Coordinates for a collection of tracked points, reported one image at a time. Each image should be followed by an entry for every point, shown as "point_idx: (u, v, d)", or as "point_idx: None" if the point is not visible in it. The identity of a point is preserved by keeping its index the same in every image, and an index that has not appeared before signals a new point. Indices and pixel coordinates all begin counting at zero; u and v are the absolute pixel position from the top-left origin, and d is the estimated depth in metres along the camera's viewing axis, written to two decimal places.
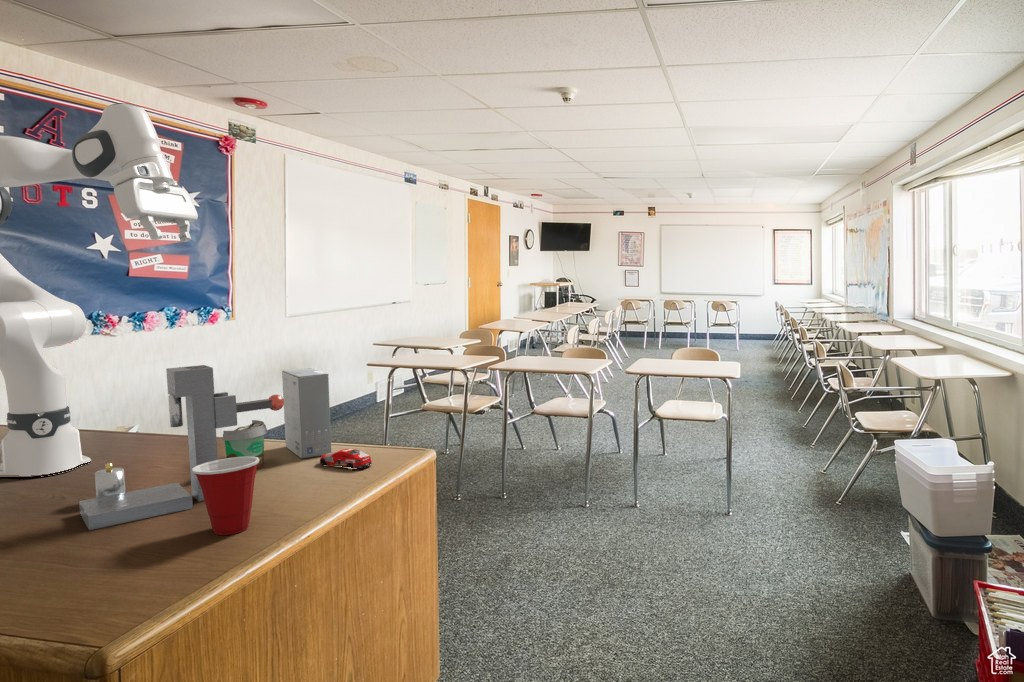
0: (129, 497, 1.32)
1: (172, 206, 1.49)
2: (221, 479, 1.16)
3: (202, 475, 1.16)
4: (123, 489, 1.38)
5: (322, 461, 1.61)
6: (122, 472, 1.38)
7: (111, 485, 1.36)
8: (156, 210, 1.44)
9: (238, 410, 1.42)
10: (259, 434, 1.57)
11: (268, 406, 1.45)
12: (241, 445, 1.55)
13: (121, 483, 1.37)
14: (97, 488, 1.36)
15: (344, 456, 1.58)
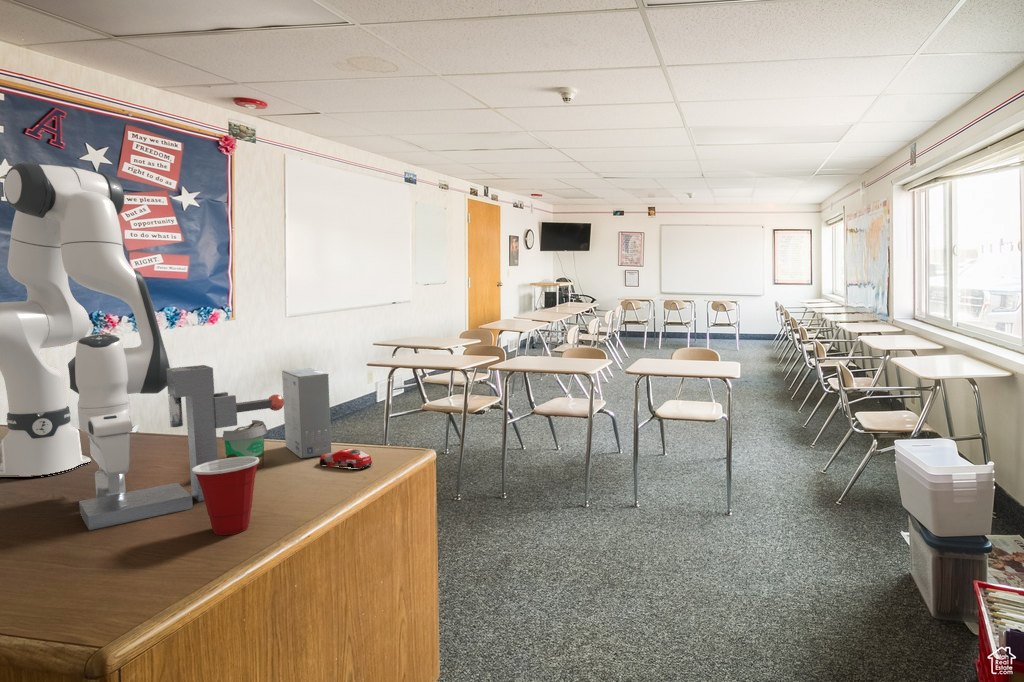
0: (129, 497, 1.32)
1: None
2: (221, 479, 1.16)
3: (202, 475, 1.16)
4: (123, 489, 1.38)
5: (322, 461, 1.60)
6: None
7: None
8: None
9: (238, 410, 1.42)
10: (259, 434, 1.57)
11: (268, 406, 1.45)
12: (241, 445, 1.55)
13: (121, 482, 1.37)
14: (97, 488, 1.36)
15: (344, 456, 1.58)
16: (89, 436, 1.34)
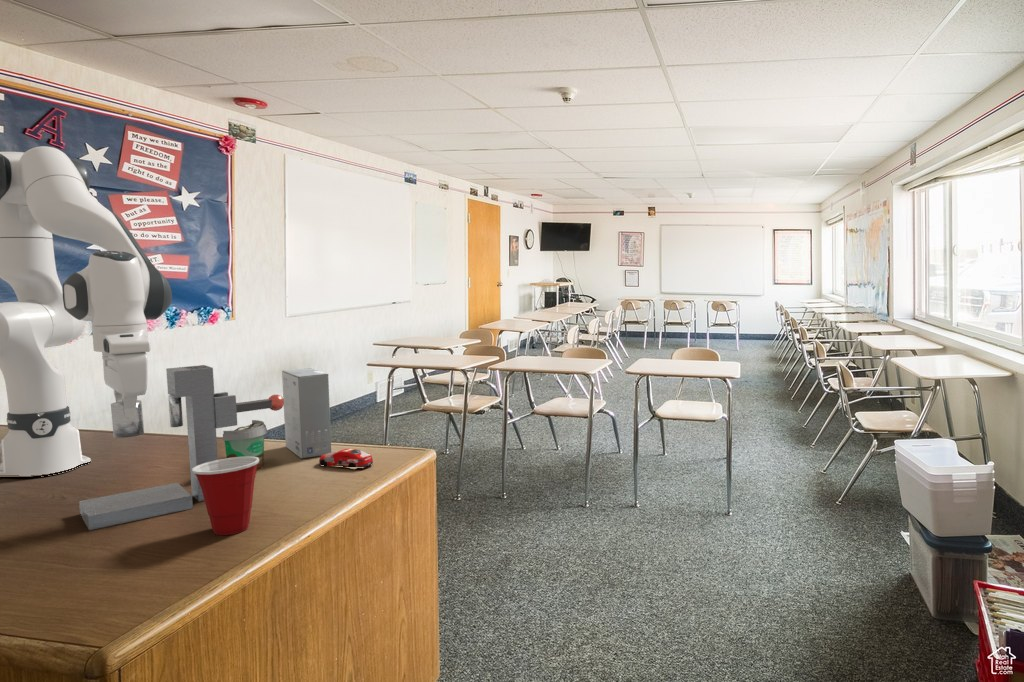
0: (129, 497, 1.32)
1: None
2: (221, 479, 1.16)
3: (202, 475, 1.16)
4: (141, 422, 1.30)
5: (322, 462, 1.60)
6: (140, 404, 1.30)
7: None
8: None
9: (238, 410, 1.42)
10: (259, 434, 1.57)
11: (268, 406, 1.45)
12: (241, 446, 1.55)
13: (139, 415, 1.29)
14: (114, 420, 1.28)
15: (345, 456, 1.58)
16: (104, 357, 1.26)
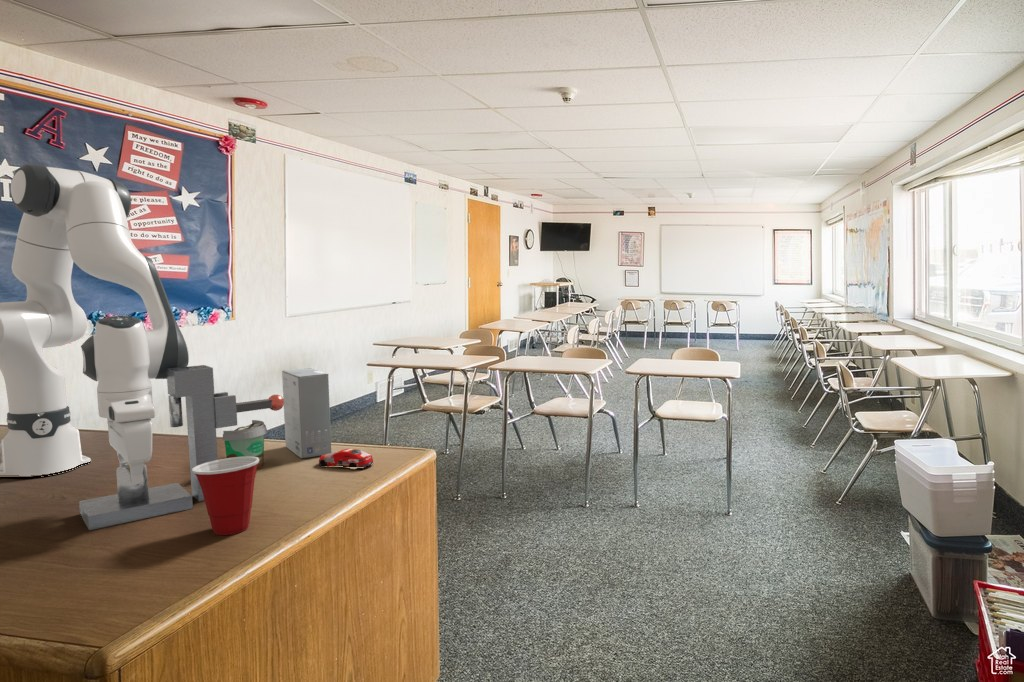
0: None
1: None
2: (221, 479, 1.16)
3: (202, 475, 1.16)
4: (146, 486, 1.31)
5: (321, 462, 1.60)
6: (145, 468, 1.31)
7: None
8: None
9: (238, 410, 1.42)
10: (259, 434, 1.57)
11: (268, 406, 1.45)
12: (241, 446, 1.55)
13: (144, 479, 1.31)
14: (119, 485, 1.29)
15: (346, 456, 1.58)
16: (109, 422, 1.27)
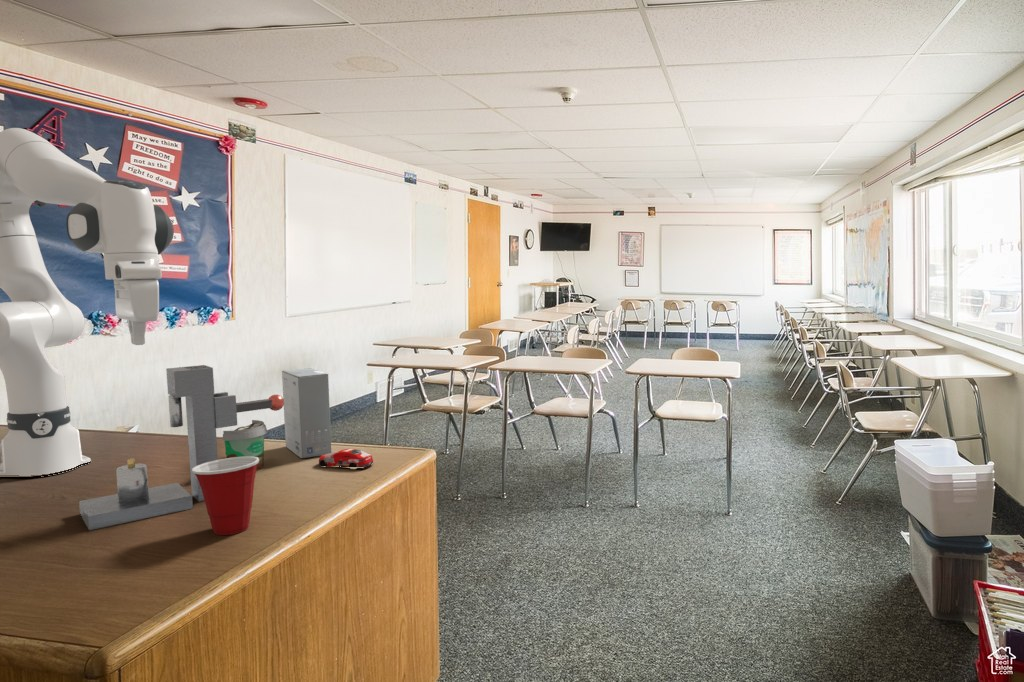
0: None
1: None
2: (221, 479, 1.16)
3: (202, 475, 1.16)
4: (146, 486, 1.31)
5: (321, 462, 1.60)
6: (145, 468, 1.31)
7: (133, 482, 1.29)
8: None
9: (238, 410, 1.42)
10: (259, 434, 1.57)
11: (268, 406, 1.45)
12: (241, 446, 1.55)
13: (144, 479, 1.31)
14: (119, 485, 1.29)
15: (346, 456, 1.58)
16: (116, 286, 1.26)
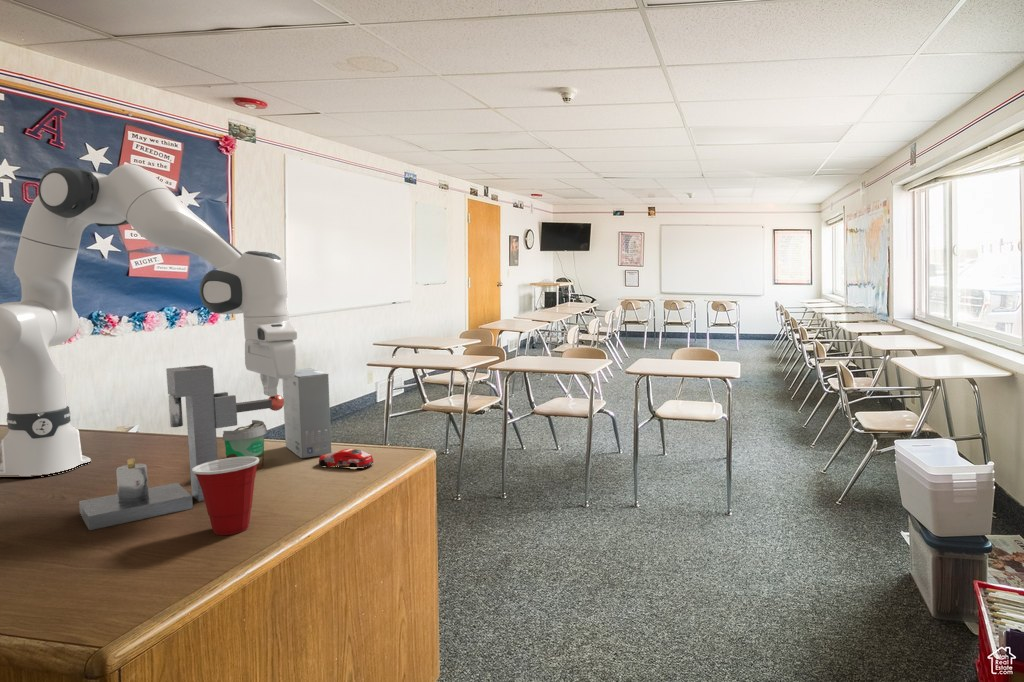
0: None
1: None
2: (221, 479, 1.16)
3: (202, 475, 1.16)
4: (146, 486, 1.31)
5: (321, 462, 1.60)
6: (145, 468, 1.31)
7: (133, 482, 1.29)
8: None
9: (238, 410, 1.42)
10: (259, 434, 1.57)
11: (268, 406, 1.45)
12: (241, 446, 1.55)
13: (144, 479, 1.31)
14: (119, 485, 1.29)
15: (346, 456, 1.58)
16: (254, 345, 1.43)
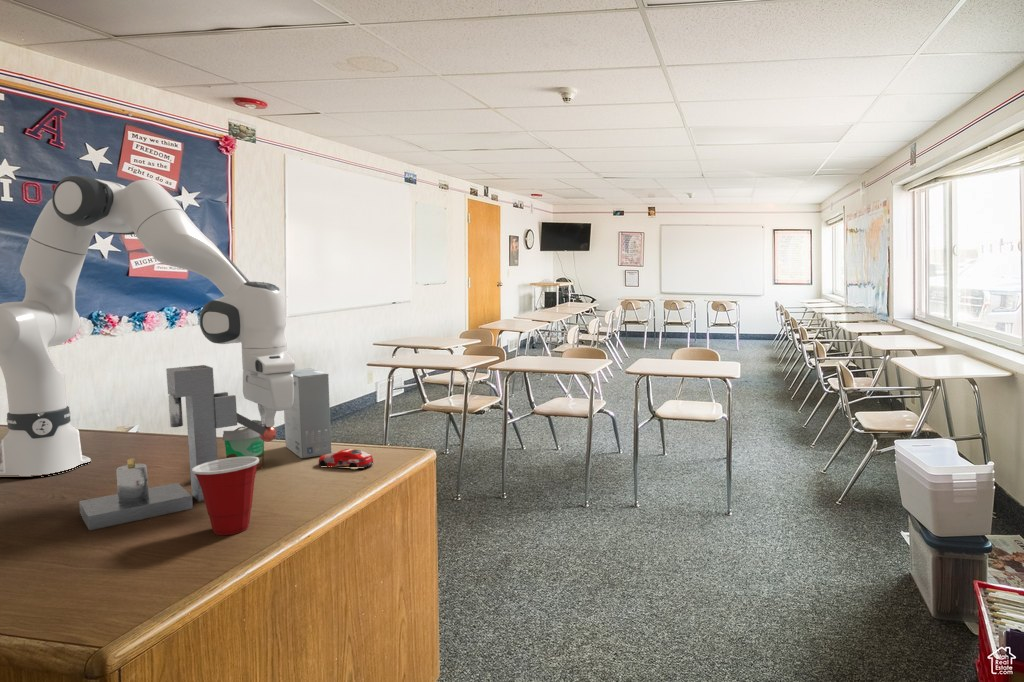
0: None
1: None
2: (221, 479, 1.16)
3: (202, 475, 1.16)
4: (146, 486, 1.31)
5: (321, 462, 1.59)
6: (145, 468, 1.31)
7: (133, 482, 1.29)
8: None
9: None
10: None
11: (260, 432, 1.45)
12: (241, 445, 1.55)
13: (144, 479, 1.31)
14: (119, 485, 1.29)
15: (346, 457, 1.58)
16: (252, 375, 1.43)
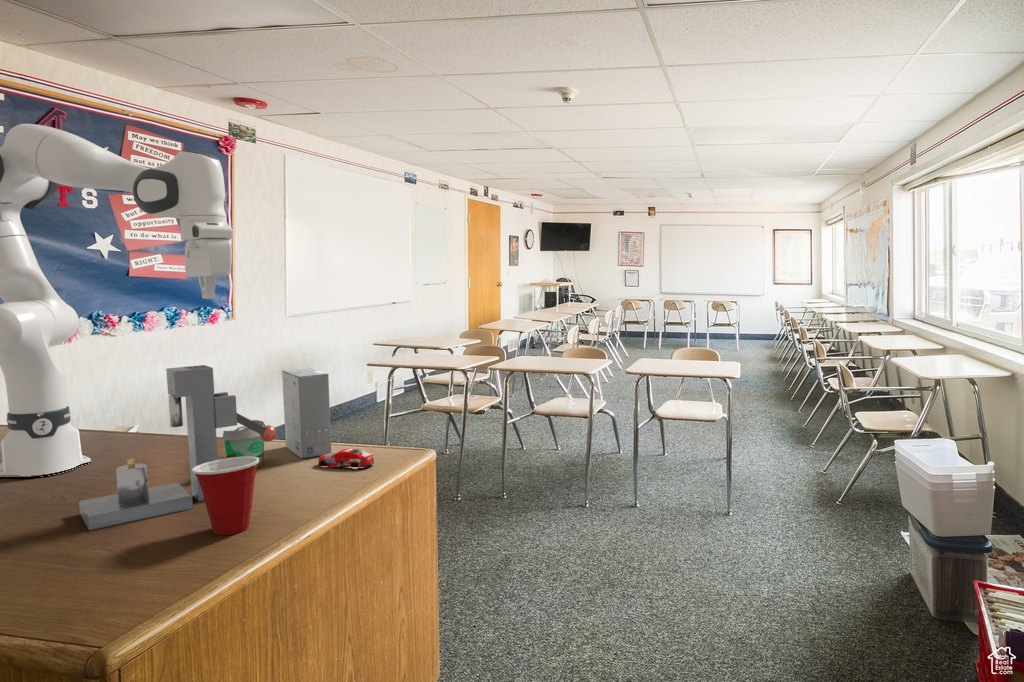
0: None
1: None
2: (221, 479, 1.16)
3: (202, 475, 1.16)
4: (146, 486, 1.31)
5: (322, 463, 1.59)
6: (145, 468, 1.31)
7: (133, 482, 1.29)
8: None
9: None
10: None
11: (260, 432, 1.45)
12: (241, 446, 1.55)
13: (144, 479, 1.31)
14: (119, 485, 1.29)
15: (347, 456, 1.58)
16: (190, 245, 1.42)
